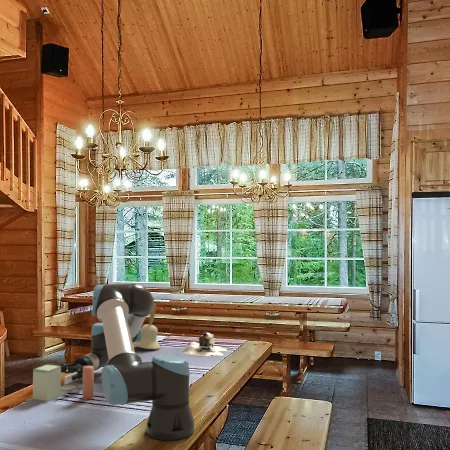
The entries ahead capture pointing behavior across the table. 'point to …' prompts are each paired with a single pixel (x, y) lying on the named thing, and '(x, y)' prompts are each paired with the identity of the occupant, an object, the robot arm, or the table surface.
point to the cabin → (203, 346)
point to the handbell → (149, 334)
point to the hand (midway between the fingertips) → (50, 378)
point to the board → (64, 390)
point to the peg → (88, 382)
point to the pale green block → (46, 382)
